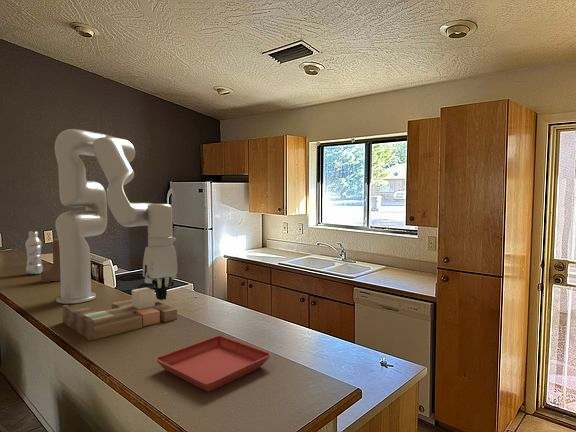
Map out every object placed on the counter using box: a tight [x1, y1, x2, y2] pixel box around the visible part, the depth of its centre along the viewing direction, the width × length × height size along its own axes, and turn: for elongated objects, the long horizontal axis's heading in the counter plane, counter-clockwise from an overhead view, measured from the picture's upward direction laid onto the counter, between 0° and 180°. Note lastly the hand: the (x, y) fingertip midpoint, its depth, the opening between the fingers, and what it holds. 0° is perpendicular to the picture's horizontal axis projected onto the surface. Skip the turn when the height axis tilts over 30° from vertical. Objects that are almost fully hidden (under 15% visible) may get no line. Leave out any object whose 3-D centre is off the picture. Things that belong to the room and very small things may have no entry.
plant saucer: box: [155, 335, 272, 392], centre depth 86 cm, size 18×18×3 cm
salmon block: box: [136, 308, 161, 327], centre depth 118 cm, size 5×5×4 cm
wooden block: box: [40, 238, 61, 283], centre depth 173 cm, size 9×4×18 cm, turn 116°
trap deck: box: [61, 298, 178, 341], centre depth 119 cm, size 21×25×5 cm
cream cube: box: [131, 287, 156, 309], centre depth 124 cm, size 5×5×5 cm
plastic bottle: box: [24, 231, 44, 275], centre depth 186 cm, size 6×7×20 cm
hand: (161, 298), depth 128 cm, fingers closed
